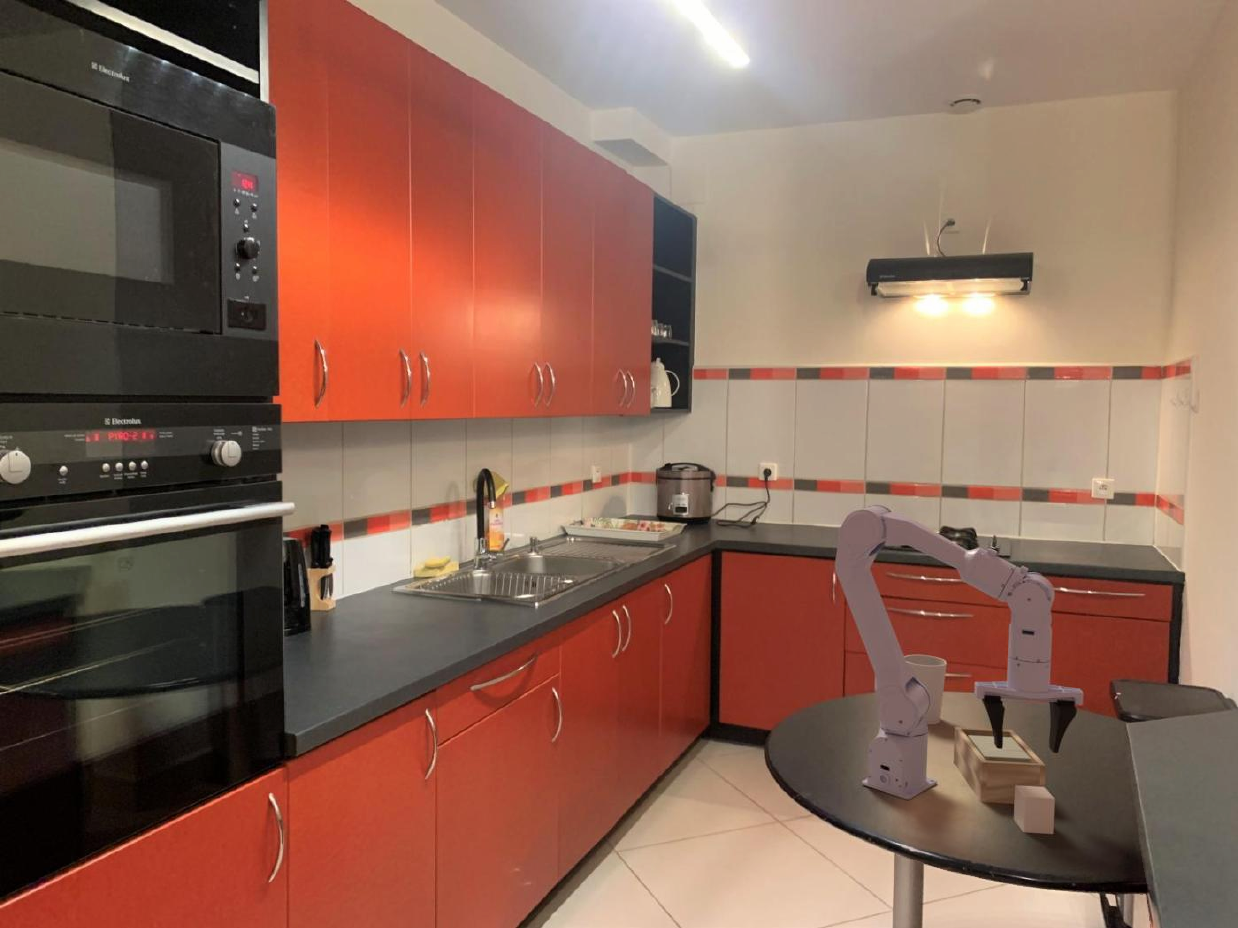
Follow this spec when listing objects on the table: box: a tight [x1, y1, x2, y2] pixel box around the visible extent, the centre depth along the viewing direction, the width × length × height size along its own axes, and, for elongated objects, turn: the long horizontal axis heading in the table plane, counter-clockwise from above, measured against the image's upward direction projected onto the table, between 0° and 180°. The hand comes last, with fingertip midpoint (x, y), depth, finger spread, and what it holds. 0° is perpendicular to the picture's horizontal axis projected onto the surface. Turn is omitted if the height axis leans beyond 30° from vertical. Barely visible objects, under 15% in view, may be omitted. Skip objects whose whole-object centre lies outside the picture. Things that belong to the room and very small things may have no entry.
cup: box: [904, 654, 948, 726], centre depth 170 cm, size 8×8×12 cm
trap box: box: [953, 726, 1047, 805], centre depth 142 cm, size 15×9×6 cm, turn 174°
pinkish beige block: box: [1013, 785, 1056, 835], centre depth 127 cm, size 4×4×6 cm
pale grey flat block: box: [968, 735, 1031, 763], centre depth 141 cm, size 9×7×4 cm
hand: (1025, 748), depth 132 cm, fingers open, 7 cm apart
